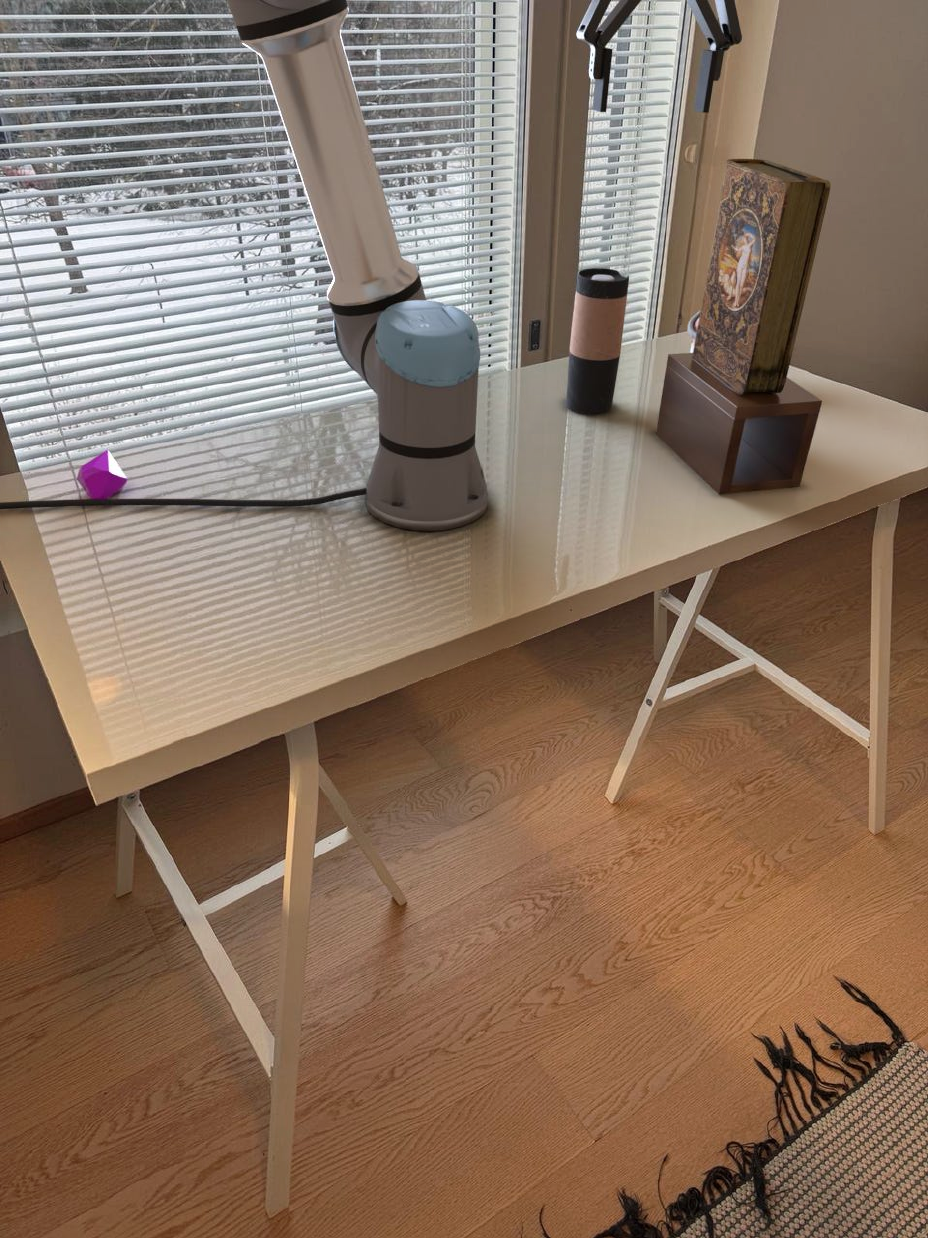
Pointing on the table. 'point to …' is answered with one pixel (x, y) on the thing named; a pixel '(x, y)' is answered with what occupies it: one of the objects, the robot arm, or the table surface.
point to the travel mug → (596, 340)
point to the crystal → (101, 477)
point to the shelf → (736, 429)
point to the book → (758, 273)
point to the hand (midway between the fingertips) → (650, 111)
